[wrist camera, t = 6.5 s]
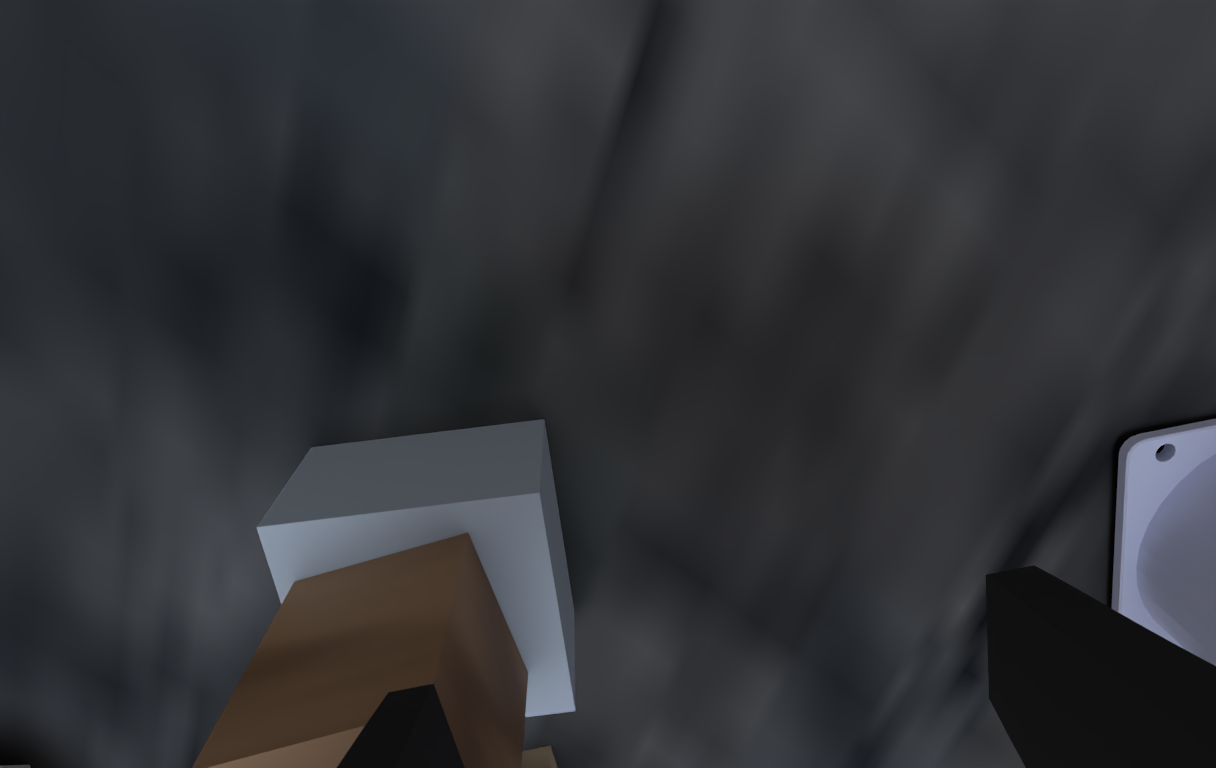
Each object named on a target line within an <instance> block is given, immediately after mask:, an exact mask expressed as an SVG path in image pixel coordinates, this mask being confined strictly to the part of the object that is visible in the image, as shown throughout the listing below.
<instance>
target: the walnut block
mask: <svg viewBox="0 0 1216 768" xmlns="http://www.w3.org/2000/svg"><path fill="white" fill-rule="evenodd" d="M428 684H434V686H435V689H436V691H437V694H438V697H439V699H440V702H441V705H442V708H443V710H444V713H445V716H446V719H447V721H448V724H449V727H450V729H451V732H452V735H453V738H454V740H455V743H456V746H457V748H458V751H459V754H460V757H461V759H462V762H463V765H464V767H465V768H521V765H522V752H523V738H524V725H525V711H526V698H527V684H528V671H527V669H526V667H525V664H524V662H523V660H522V657H521V655H520V653H519V650H518V648H517V646H516V643H515V641H514V639H513V636H512V634H511V632H510V629H509V627H508V625H507V622H506V620H505V618H504V615H503V613H502V611H501V608H500V606H499V603H498V601H497V599H496V596H495V594H494V592H493V589H492V587H491V585H490V582H489V580H488V578H487V575H486V573H485V571H484V568H483V566H482V564H481V561H480V559H479V557H478V554H477V552H476V550H475V547H474V545H473V543H472V540H471V538H470V536H469V533H465V534H461V535H458V536H454V537H451V538H447V539H444V540H440V541H436V542H433V543H429V544H426V545H422V546H419V547H415V548H412V549H408V550H405V551H401V552H397V553H394V554H390V555H387V556H383V557H380V558H376V559H373V560H369V561H365V562H362V563H358V564H355V565H351V566H348V567H344V568H341V569H337V570H334V571H330V572H326V573H323V574H319V575H316V576H312V577H309V578H305V579H302V580H298V581H295V582H294V583H293V585H292V586H291V588H290V590H289V592H288V594H287V596H286V597H285V599H284V601H283V603H282V605H281V606H280V608H279V610H278V612H277V614H276V616H275V617H274V619H273V621H272V623H271V625H270V627H269V628H268V630H267V632H266V634H265V636H264V638H263V639H262V641H261V643H260V645H259V647H258V648H257V650H256V652H255V654H254V656H253V658H252V659H251V661H250V663H249V665H248V667H247V669H246V670H245V672H244V674H243V676H242V678H241V680H240V681H239V683H238V685H237V687H236V689H235V691H234V692H233V694H232V696H231V698H230V700H229V701H228V703H227V705H226V707H225V709H224V711H223V712H222V714H221V716H220V718H219V720H218V722H217V723H216V725H215V727H214V729H213V731H212V733H211V734H210V736H209V738H208V740H207V742H206V743H205V745H204V747H203V749H202V751H201V753H200V754H199V756H198V758H197V760H196V762H195V764H194V765H193V767H192V768H337V766H338V765H339V763H340V762H341V760H342V759H343V757H344V756H345V754H346V753H347V751H348V750H349V749H350V747H351V746H352V744H353V743H354V741H355V740H356V738H357V737H358V735H359V734H360V732H361V731H362V729H363V728H364V726H365V725H366V724H367V722H368V721H369V719H370V718H371V716H372V715H373V713H374V712H375V711H376V709H377V708H378V706H379V705H380V704H381V702H382V701H383V699H384V698H385V696H386V695H387V694H388V692H393V691H398V690H403V689H408V688H413V687H418V686H423V685H428Z"/></svg>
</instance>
